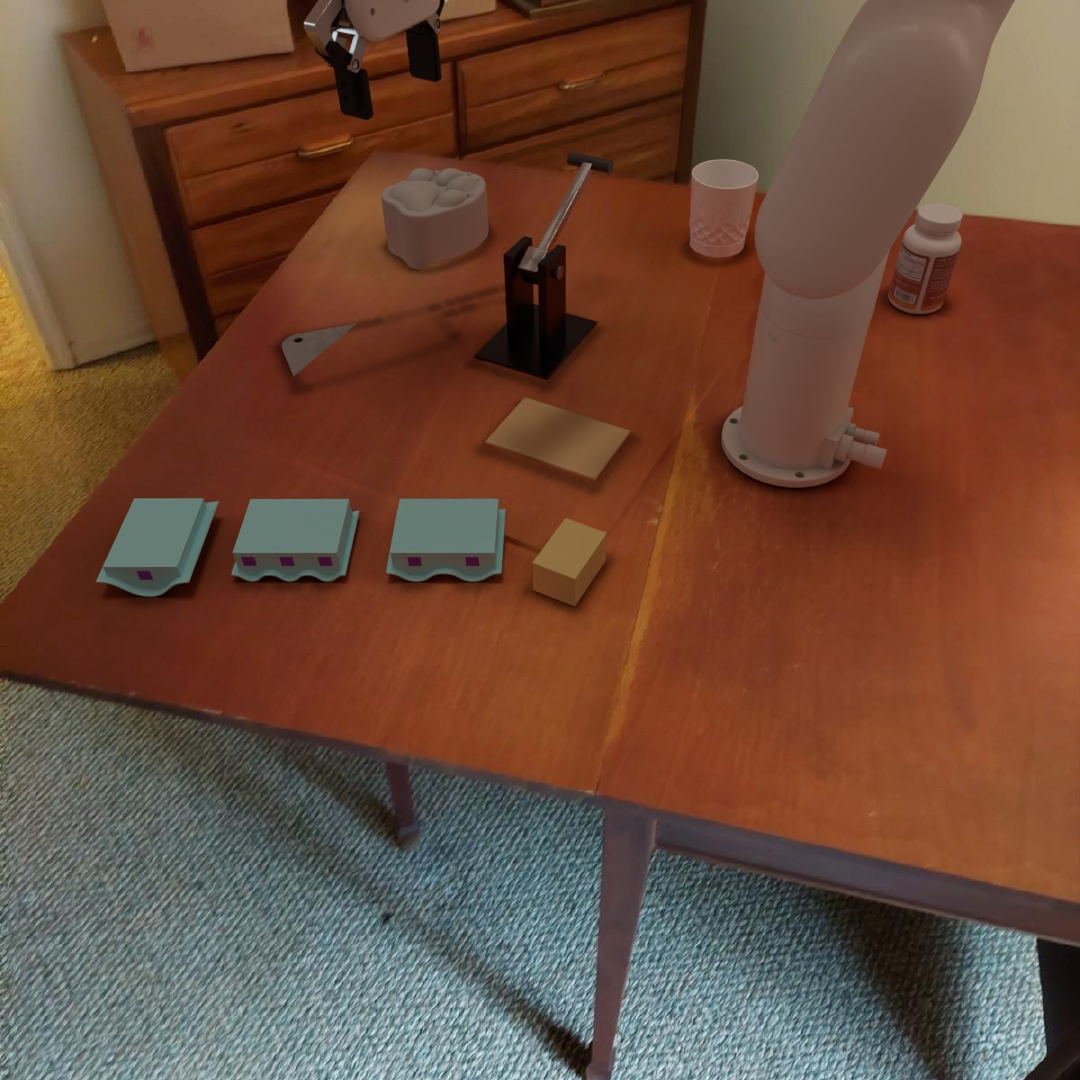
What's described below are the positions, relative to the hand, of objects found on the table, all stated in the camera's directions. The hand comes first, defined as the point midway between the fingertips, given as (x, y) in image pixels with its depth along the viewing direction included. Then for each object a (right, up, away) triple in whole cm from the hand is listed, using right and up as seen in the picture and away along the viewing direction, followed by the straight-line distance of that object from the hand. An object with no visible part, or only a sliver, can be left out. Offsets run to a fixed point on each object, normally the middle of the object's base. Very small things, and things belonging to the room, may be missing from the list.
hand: (393, 96), depth 85 cm
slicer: (+13, -18, +22) cm, 31 cm away
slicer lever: (+16, -5, +17) cm, 24 cm away
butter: (+16, -43, -2) cm, 45 cm away
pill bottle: (+57, -12, +27) cm, 64 cm away
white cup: (+35, -3, +36) cm, 51 cm away
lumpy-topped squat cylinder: (+1, -1, +39) cm, 39 cm away
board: (+15, -30, +10) cm, 35 cm away
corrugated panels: (-7, -41, 0) cm, 42 cm away
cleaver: (-1, -16, +24) cm, 29 cm away
